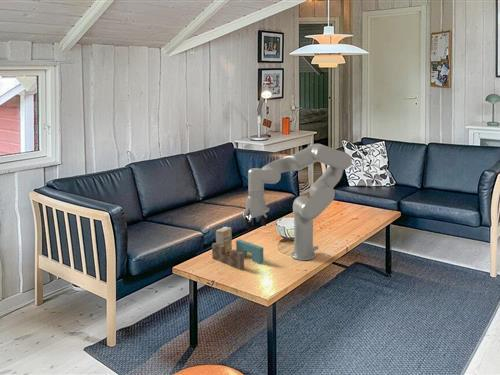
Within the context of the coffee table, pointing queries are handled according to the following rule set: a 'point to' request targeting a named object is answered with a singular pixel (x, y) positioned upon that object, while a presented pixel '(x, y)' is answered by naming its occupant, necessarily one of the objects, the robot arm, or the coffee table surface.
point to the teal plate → (250, 250)
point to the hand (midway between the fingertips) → (256, 227)
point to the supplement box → (224, 238)
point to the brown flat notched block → (228, 256)
